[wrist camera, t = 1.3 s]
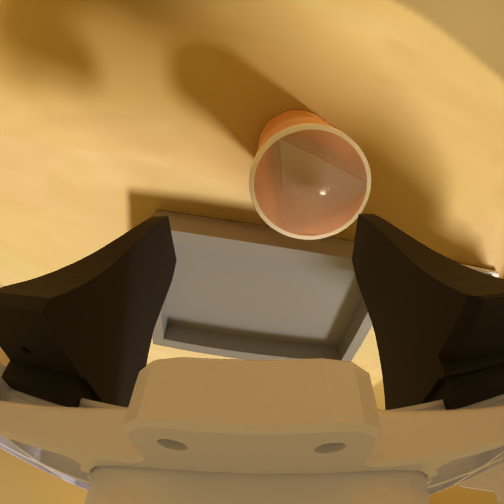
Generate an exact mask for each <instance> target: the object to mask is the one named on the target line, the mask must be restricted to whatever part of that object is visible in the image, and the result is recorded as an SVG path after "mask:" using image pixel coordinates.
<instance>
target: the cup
mask: <svg viewBox="0 0 504 504" xmlns="http://www.w3.org/2000/svg"><path fill="white" fill-rule="evenodd" d="M249 188H250V195H251V199H252V202H253V205H254V207H255V209H256V211H257V212H258V214H259V215H260V217H261V218H262V219H263V220H264V221H265V222H266V223H267V224H268V225H269V226H270V227H271V228H273V229H274V230H276V231H277V232H279V233H281V234H283V235H286V236H289V237H292V238H296V239H304V240H314V239H322V238H326V237H329V236H332V235H335V234H337V233H339V232H341V231H342V230H344V229H345V228H347V227H348V226H349V225H351V224H352V223H353V222H354V221H355V220H356V219H357V218H358V215H359V214H361V212H362V211H363V209H364V207H365V206H366V203H367V201H368V198H369V195H370V191H371V172H370V167H369V164H368V161H367V159H366V157H365V155H364V153H363V152H362V150H361V149H360V147H359V146H358V145H357V144H356V143H355V142H354V141H353V140H352V139H351V138H350V137H348V136H347V135H346V134H345V133H343V132H342V131H340V130H338V129H336V128H334V127H332V126H330V125H329V124H328V123H327V122H325V121H324V120H323V119H322V118H320V117H319V116H317V115H316V114H314V113H311V112H308V111H304V110H290V111H286V112H283V113H280V114H278V115H276V116H275V117H273V118H272V119H271V120H270V121H269V122H268V123H267V124H266V125H265V127H264V128H263V130H262V132H261V135H260V138H259V144H258V152H257V154H256V156H255V158H254V161H253V163H252V167H251V172H250V180H249Z"/></svg>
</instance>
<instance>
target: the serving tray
mask: <svg viewBox="0 0 504 504" xmlns="http://www.w3.org/2000/svg"><path fill="white" fill-rule="evenodd" d="M154 216H168V217H169V222H170V228H171V233H172V239H173V244H174V249H175V255H176V260H177V261H176V266H175V270H174V275H173V279H172V282H171V285H170V288H169V290H168V293H167V296H166V298H165V301H164V304H163V306H162V309H161V311H160V314H159V317H158V319H157V322H156V325H155V328H154V331H153V335H152V337H153V344H157V345H162V346H167V347H172V348H177V349H182V350H188V351H193V352H199V353H205V354H211V355H218V356H224V357H231V358H238V359H245V360H285V359H317V358H324V359H333V360H342V361H349V362H351V360H352V359H353V357H354V356H355V354H356V352H357V351H358V349H359V347H360V345H361V344H362V342H363V340H364V339H365V337H366V335H367V333H368V332H369V330H370V328H371V326H372V322H371V319H370V316H369V313H368V311H367V308H366V305H365V302H364V300H363V297H362V294H361V291H360V289H359V286H358V283H357V280H356V276H355V272H354V268H353V263H352V254H353V248H354V241H348V240H343V239H337V238H331V237H326V238H322V239H314V240H304V239H296V238H292V237H289V236H286V235H283V234H281V233H279V232H277V231H276V230H274V229H273V228H271V227H266V226H260V225H254V224H248V223H241V222H235V221H228V220H222V219H215V218H208V217H202V216H195V215H188V214H181V213H174V212H167V211H160V210H156V212H155V213H154V214H153V216H152V217H154Z"/></svg>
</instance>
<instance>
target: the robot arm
mask: <svg viewBox="0 0 504 504" xmlns="http://www.w3.org/2000/svg"><path fill="white" fill-rule="evenodd" d="M176 261H177V260H176V255H175V249H174V244H173V239H172V233H171V228H170V222H169V217H168V216H154V217H151V218H149V219H147V220H146V221H144V222H142V223H141V224H139V225H137V226H136V227H134V228H133V229H131V230H130V231H128V232H127V233H125V234H124V235H122V236H121V237H119V238H117V239H116V240H114V241H113V242H111V243H109V244H108V245H106V246H105V247H103V248H101V249H100V250H98V251H96V252H94V253H93V254H91V255H89V256H87V257H85V258H83V259H81V260H79V261H77V262H75V263H73V264H71V265H68V266H66V267H64V268H61V269H59V270H57V271H54V272H52V273H49V274H46V275H44V276H41V277H37V278H34V279H31V280H28V281H24V282H20V283H16V284H13V285H9V286H4V287H2V288H0V347H1V348H2V349H3V351H4V352H5V353H6V355H7V356H8V358H9V359H10V362H9V364H8V365H7V367H6V366H5V365H4V364H2V363H0V448H1V449H3V450H5V451H6V452H8V453H10V454H12V455H14V456H15V457H17V458H19V459H21V460H23V461H25V462H27V463H29V464H30V465H32V466H34V467H37V468H38V469H41V470H43V471H45V472H47V473H49V474H51V475H53V476H55V477H58V478H60V479H62V480H64V481H66V482H69V483H71V484H73V485H76V486H78V487H81V488H84V489H86V490H88V493H87V497H86V501H85V504H430V502H429V495H431V494H434V493H437V492H439V491H442V490H445V489H447V488H450V487H452V486H455V485H457V484H458V485H459V486H461V487H465V488H471V489H478V490H485V491H491V492H494V493H495V495H496V498H497V501H498V504H504V279H501V278H498V277H499V273H498V272H497V271H493V270H489V269H484V268H479V267H474V266H470V265H465V264H460V263H457V262H455V261H453V260H451V259H449V258H447V257H445V256H443V255H441V254H439V253H437V252H435V251H433V250H432V249H430V248H428V247H426V246H425V245H423V244H421V243H420V242H418V241H416V240H415V239H413V238H412V237H410V236H409V235H407V234H405V233H404V232H402V231H401V230H399V229H398V228H396V227H395V226H393V225H392V224H390V223H389V222H387V221H385V220H384V219H382V218H380V217H379V216H377V215H374V214H359V215H358V222H357V229H356V235H355V242H354V248H353V254H352V263H353V268H354V272H355V276H356V280H357V283H358V286H359V289H360V291H361V294H362V297H363V300H364V302H365V305H366V308H367V311H368V313H369V316H370V319H371V322H372V325H373V328H374V332H375V336H376V340H377V345H378V350H379V356H380V362H381V369H382V375H383V384H384V394H385V408H386V410H377V406H376V401H375V397H374V392H373V388H372V384H371V380H370V375H369V373H368V372H366V371H365V370H363V369H362V368H360V367H359V366H357V365H356V364H354V363H353V362H349V361H342V360H333V359H324V358H317V359H285V360H240V359H208V358H189V357H180V358H170V359H160V360H155V361H152V362H151V363H150V364H148V365H147V366H146V363H147V358H148V353H149V348H150V343H151V339H152V335H153V331H154V328H155V325H156V322H157V319H158V317H159V314H160V311H161V309H162V306H163V304H164V301H165V298H166V296H167V293H168V290H169V288H170V285H171V282H172V279H173V275H174V270H175V266H176Z"/></svg>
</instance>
